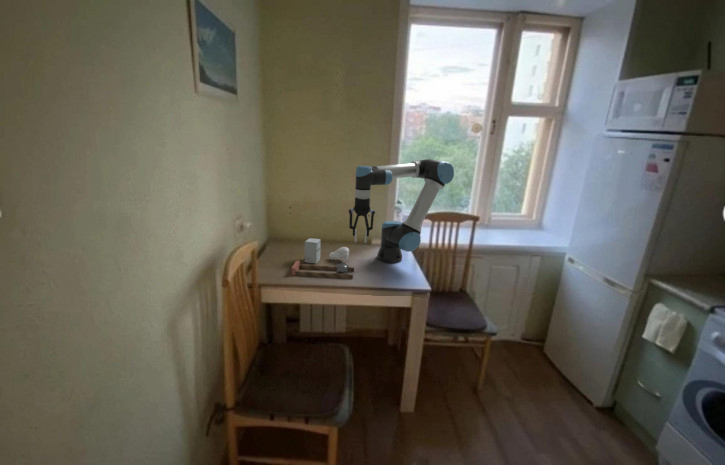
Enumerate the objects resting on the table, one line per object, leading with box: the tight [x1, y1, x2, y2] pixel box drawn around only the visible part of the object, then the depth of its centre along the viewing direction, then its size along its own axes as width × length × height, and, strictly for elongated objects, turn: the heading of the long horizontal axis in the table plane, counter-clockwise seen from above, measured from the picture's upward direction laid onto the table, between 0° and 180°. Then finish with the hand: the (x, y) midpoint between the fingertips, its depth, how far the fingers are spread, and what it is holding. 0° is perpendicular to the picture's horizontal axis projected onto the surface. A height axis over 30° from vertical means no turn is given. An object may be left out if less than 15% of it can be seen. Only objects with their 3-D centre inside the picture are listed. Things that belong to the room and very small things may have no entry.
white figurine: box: [328, 246, 350, 264], centre depth 198 cm, size 6×8×12 cm
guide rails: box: [294, 263, 355, 280], centre depth 181 cm, size 30×10×2 cm, turn 87°
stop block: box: [291, 260, 301, 276], centre depth 181 cm, size 2×10×4 cm, turn 177°
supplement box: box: [304, 238, 321, 265], centre depth 195 cm, size 7×7×13 cm
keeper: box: [336, 262, 349, 274], centre depth 180 cm, size 6×6×5 cm
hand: (360, 241), depth 175 cm, fingers open, 4 cm apart
